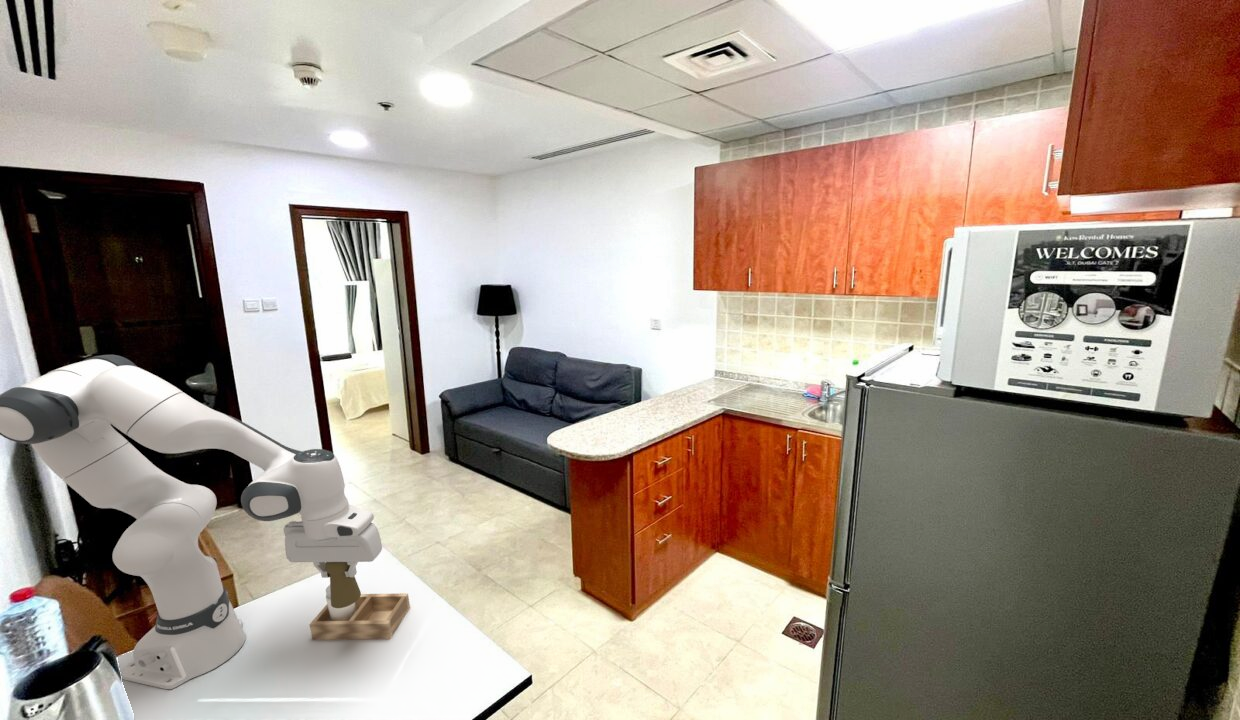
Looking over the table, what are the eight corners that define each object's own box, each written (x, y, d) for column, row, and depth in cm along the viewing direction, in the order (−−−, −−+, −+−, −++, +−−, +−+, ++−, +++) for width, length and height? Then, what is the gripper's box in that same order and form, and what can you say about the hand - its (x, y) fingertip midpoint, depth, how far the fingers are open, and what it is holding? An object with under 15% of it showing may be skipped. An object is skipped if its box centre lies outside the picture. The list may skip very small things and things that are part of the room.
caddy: (313, 642, 113) (309, 624, 112) (338, 610, 122) (335, 594, 121) (391, 641, 112) (387, 623, 111) (410, 610, 122) (407, 593, 121)
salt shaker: (327, 631, 115) (319, 594, 112) (341, 614, 120) (334, 578, 118) (349, 631, 114) (342, 594, 112) (362, 614, 120) (355, 578, 117)
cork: (347, 609, 105) (338, 566, 102) (324, 606, 106) (315, 564, 103) (366, 590, 110) (358, 549, 108) (344, 587, 112) (336, 547, 109)
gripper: (271, 530, 101) (285, 585, 104) (363, 528, 99) (375, 585, 103) (292, 513, 107) (305, 566, 110) (380, 512, 105) (390, 566, 109)
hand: (339, 575), depth 106 cm, fingers closed on cork, 4 cm apart
